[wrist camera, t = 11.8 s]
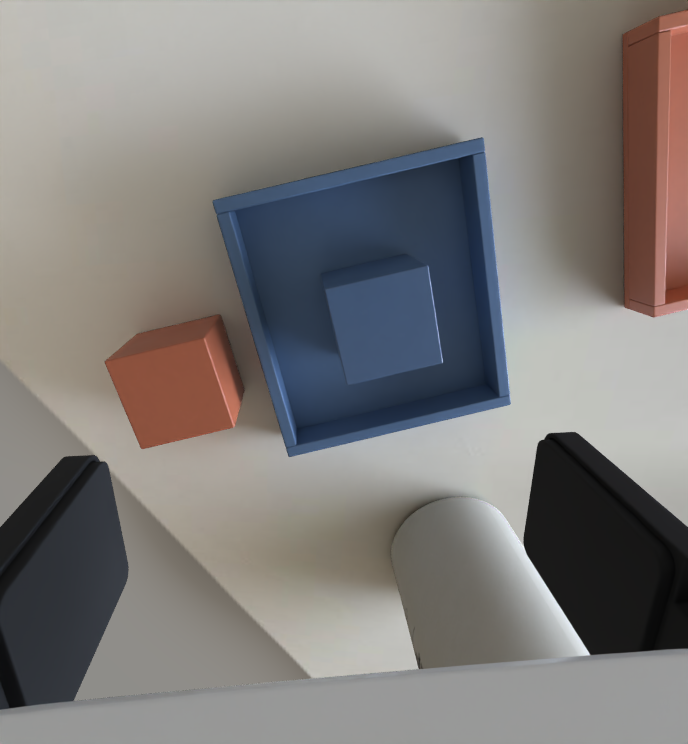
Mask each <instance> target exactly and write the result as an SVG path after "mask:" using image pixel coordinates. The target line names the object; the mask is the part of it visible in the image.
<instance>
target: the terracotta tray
mask: <svg viewBox="0 0 688 744" xmlns="http://www.w3.org/2000/svg"><path fill="white" fill-rule="evenodd" d="M623 163H624V299H625V308H627V309H631V310H634V311H637V312H640V313H643V314H646V315H648V316H651V317H657V316H662V315H666V314H670V313H674V312H679V311H683V310H687V309H688V10H684V11H679V12H675V13H671V14H666V15H662V16H658V17H656V18H654V19H652V20H650V21H648V22H646V23H644V24H642V25H640V26H638V27H636V28H634V29H632V30H630V31H628V32H626V33H624V34H623Z"/></svg>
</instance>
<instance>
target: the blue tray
mask: <svg viewBox="0 0 688 744" xmlns="http://www.w3.org/2000/svg"><path fill="white" fill-rule="evenodd" d="M484 151H485V147H484V139H483V138H482V137H481V138H477V139H473V140H469V141H464V142H460V143H456V144H451V145H447V146H443V147H439V148H434V149H430V150H426V151H421V152H417V153H413V154H409V155H404V156H400V157H396V158H392V159H387V160H383V161H379V162H374V163H370V164H366V165H362V166H357V167H353V168H349V169H344V170H340V171H336V172H332V173H327V174H323V175H319V176H314V177H310V178H306V179H302V180H297V181H293V182H289V183H285V184H280V185H276V186H272V187H267V188H263V189H259V190H255V191H250V192H246V193H242V194H237V195H233V196H229V197H225V198H220V199H216V200H213V205H214V209H215V212H216V214H217V219H218V222H219V226H220V229H221V232H222V236H223V239H224V242H225V246H226V249H227V252H228V256H229V259H230V262H231V266H232V269H233V272H234V276H235V279H236V282H237V286H238V289H239V292H240V296H241V299H242V302H243V306H244V309H245V313H246V316H247V319H248V323H249V326H250V329H251V333H252V336H253V339H254V343H255V346H256V349H257V353H258V356H259V359H260V363H261V366H262V369H263V373H264V376H265V379H266V383H267V386H268V389H269V393H270V396H271V399H272V403H273V406H274V410H275V413H276V416H277V420H278V423H279V426H280V430H281V433H282V436H283V440H284V443H285V446H286V450H287V453H288V456H289V457H292V456H296V455H300V454H304V453H309V452H313V451H317V450H321V449H325V448H330V447H334V446H338V445H342V444H347V443H351V442H355V441H359V440H363V439H368V438H372V437H376V436H380V435H384V434H389V433H393V432H397V431H401V430H406V429H410V428H414V427H418V426H422V425H427V424H431V423H435V422H439V421H443V420H448V419H452V418H456V417H460V416H464V415H469V414H473V413H477V412H481V411H486V410H490V409H494V408H498V407H502V406H507V405H510V404H511V402H510V395H509V394H510V391H509V381H508V372H507V362H506V352H505V342H504V332H503V323H502V313H501V303H500V293H499V283H498V274H497V264H496V254H495V244H494V235H493V225H492V215H491V205H490V195H489V186H488V176H487V166H486V156H485V152H484ZM401 254H408V255H409V256H411V257H413V258H415V259H417V260H419V261H421V262H423V263H424V264H426V265H428V267H429V274H430V280H431V287H432V294H433V300H434V307H435V313H436V320H437V326H438V333H439V339H440V346H441V352H442V359H443V363H440V364H436V365H432V366H427V367H423V368H419V369H415V370H410V371H406V372H402V373H398V374H394V375H389V376H385V377H381V378H377V379H372V380H368V381H364V382H360V383H356V384H351V385H347V384H346V381H345V377H344V373H343V369H342V365H341V361H340V357H339V353H338V348H337V344H336V340H335V336H334V331H333V327H332V323H331V319H330V314H329V310H328V306H327V301H326V297H325V293H324V289H323V284H322V280H321V276H320V274H321V273H325V272H329V271H333V270H337V269H342V268H346V267H350V266H355V265H359V264H363V263H367V262H372V261H376V260H380V259H384V258H389V257H393V256H397V255H401Z"/></svg>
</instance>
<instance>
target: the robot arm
mask: <svg viewBox="0 0 688 744" xmlns="http://www.w3.org/2000/svg"><path fill="white" fill-rule="evenodd" d="M524 548H525V551H526V554H527V556H528V557H529V559H530V561H531V562H532V564H533V565H534V567H535V569H536V570H537V572H538V573H539V575H540V576H541V578H542V580H543V581H544V583H545V584H546V586H547V587H548V589H549V591H550V592H551V594H552V595H553V597H554V598H555V600H556V602H557V603H558V605H559V606H560V608H561V609H562V611H563V613H564V614H565V616H566V617H567V619H568V620H569V622H570V624H571V625H572V627H573V628H574V630H575V632H576V633H577V635H578V636H579V638H580V639H581V641H582V643H583V644H584V646H585V647H586V649H587V650H588V652H589V654H590V655H587V656H574V657H562V658H550V659H537V660H525V661H512V662H500V663H488V664H475V665H463V666H451V667H440V668H428V669H416V670H405V671H393V672H381V673H370V674H359V675H347V676H336V677H325V678H313V679H302V680H291V681H279V682H268V683H258V684H247V685H236V686H227V687H215V688H205V689H194V690H183V691H173V692H162V693H150V694H141V695H129V696H118V697H108V698H99V699H89V700H79V701H74V698H75V696H76V694H77V692H78V689H79V687H80V685H81V683H82V681H83V678H84V676H85V674H86V672H87V669H88V667H89V665H90V662H91V661H92V658H93V656H94V654H95V652H96V649H97V647H98V645H99V643H100V640H101V638H102V636H103V634H104V631H105V629H106V627H107V625H108V622H109V620H110V618H111V616H112V613H113V611H114V609H115V607H116V605H117V602H118V600H119V598H120V596H121V593H122V591H123V589H124V586H125V584H126V581H127V578H128V562H127V556H126V551H125V546H124V541H123V537H122V531H121V526H120V521H119V517H118V511H117V506H116V502H115V497H114V492H113V487H112V482H111V477H110V472H109V467H108V465H107V463H106V462H100V461H99V459H98V457H97V456H95V455H89V456H68V457H64V458H63V459H61V460H60V462H59V463H58V464H57V465H56V466H55V468H54V469H52V470H51V472H50V473H49V474H48V475H47V476H46V477H45V478H44V479H43V481H42V482H41V483H40V484H39V485H38V486H37V487H36V488H35V489H34V490H33V492H32V493H31V494H30V495H29V496H28V497H27V498H26V499H25V501H24V502H23V503H22V504H21V505H20V506H19V507H18V508H17V509H16V510H15V512H14V513H13V514H12V515H11V516H10V517H9V518H8V519H7V521H6V522H5V523H4V524H3V525H2V526H1V527H0V744H688V527H687V526H686V525H685V524H683V523H682V522H681V521H680V520H679V519H678V518H676V517H675V516H674V515H673V514H672V513H671V512H669V511H668V510H667V509H666V508H665V507H663V506H662V505H661V504H660V503H659V502H658V501H656V500H655V499H654V498H653V497H652V496H651V495H649V494H648V493H647V492H646V491H645V490H644V489H642V488H641V487H640V486H639V485H638V484H636V483H635V482H634V481H633V480H632V479H631V478H629V477H628V476H627V475H626V474H625V473H624V472H622V471H621V470H620V469H619V468H618V467H617V466H615V465H614V464H613V463H612V462H611V461H609V460H608V459H607V458H606V457H605V456H604V455H602V454H601V453H600V452H599V451H598V450H597V449H595V448H594V447H593V446H592V445H591V444H590V443H588V442H587V441H586V440H585V439H584V438H582V437H581V436H580V435H579V434H577V433H576V432H566V433H549V434H548V435H546V437H545V439H544V440H541V441H539V443H538V446H537V452H536V459H535V465H534V472H533V479H532V485H531V492H530V499H529V505H528V512H527V519H526V525H525V532H524Z"/></svg>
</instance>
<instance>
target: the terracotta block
mask: <svg viewBox="0 0 688 744" xmlns="http://www.w3.org/2000/svg"><path fill="white" fill-rule="evenodd" d="M105 364H106V367H107V369H108V372H109V374H110V376H111V379H112V381H113V383H114V386H115V388H116V390H117V393H118V395H119V398H120V400H121V402H122V405H123V407H124V409H125V412H126V414H127V416H128V419H129V421H130V423H131V426H132V428H133V431H134V433H135V435H136V438H137V440H138V442H139V445H140V447H141V449H145V448H149V447H153V446H158V445H162V444H166V443H170V442H175V441H179V440H183V439H187V438H191V437H196V436H200V435H204V434H208V433H213V432H217V431H221V430H225V429H229V428H233V427H235V424H236V420H237V416H238V413H239V409H240V406H241V402H242V399H243V395H244V392H245V390H244V387H243V384H242V381H241V378H240V374H239V371H238V368H237V365H236V362H235V359H234V356H233V352H232V349H231V346H230V343H229V340H228V337H227V334H226V330H225V327H224V324H223V321H222V318H221V315H215V316H211V317H207V318H202V319H198V320H194V321H190V322H185V323H181V324H177V325H173V326H168V327H164V328H160V329H156V330H151V331H147V332H143V333H138V334H136V335H135V336H134V337H133V338H132V339H131V340H129V341H128V342H127V343H126V344H125V345H123V346H122V347H121V348H120V349H119V350H118V351H116V352H115V353H114V354H113V355H112V356H110V357H109V358H108V359H107V360H106V361H105Z"/></svg>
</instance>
